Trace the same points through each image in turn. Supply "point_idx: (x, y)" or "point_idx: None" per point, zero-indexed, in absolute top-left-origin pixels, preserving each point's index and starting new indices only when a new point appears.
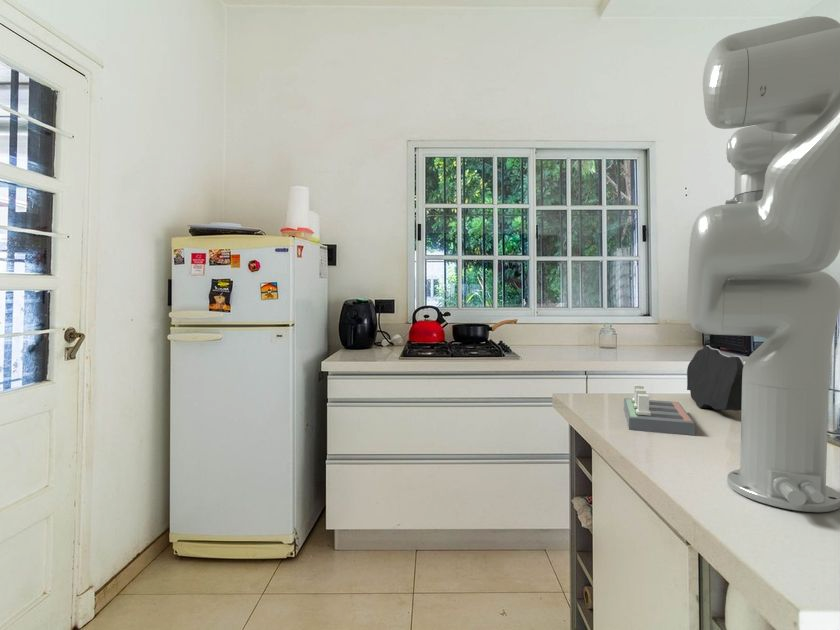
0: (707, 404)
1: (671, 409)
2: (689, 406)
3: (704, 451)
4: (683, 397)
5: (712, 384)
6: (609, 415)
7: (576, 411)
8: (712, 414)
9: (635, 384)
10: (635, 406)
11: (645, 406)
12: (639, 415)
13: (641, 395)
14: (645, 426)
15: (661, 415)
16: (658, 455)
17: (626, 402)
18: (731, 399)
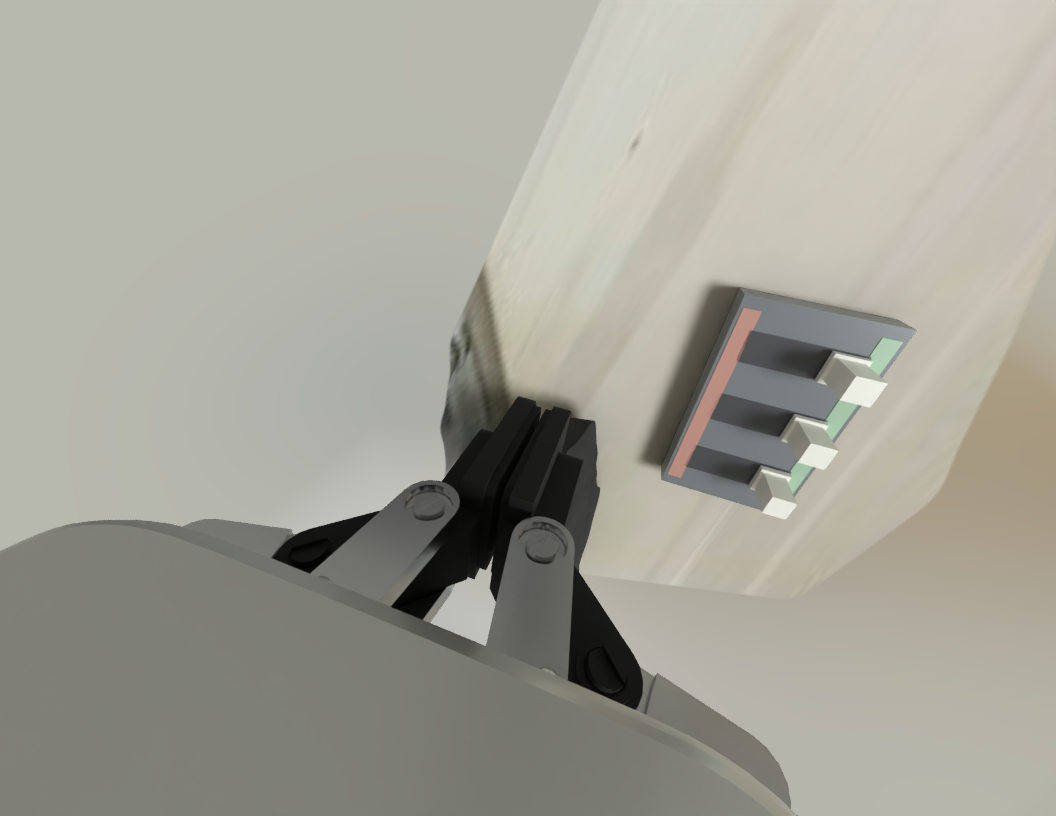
0: (596, 475)
1: (723, 417)
2: (611, 503)
3: (806, 140)
4: (588, 558)
5: (577, 507)
6: (860, 444)
7: (940, 479)
8: (597, 450)
9: (783, 516)
10: (825, 424)
11: (853, 366)
12: (862, 355)
13: (875, 386)
14: (860, 315)
15: (791, 360)
16: (1001, 52)
17: (803, 479)
18: (581, 426)
